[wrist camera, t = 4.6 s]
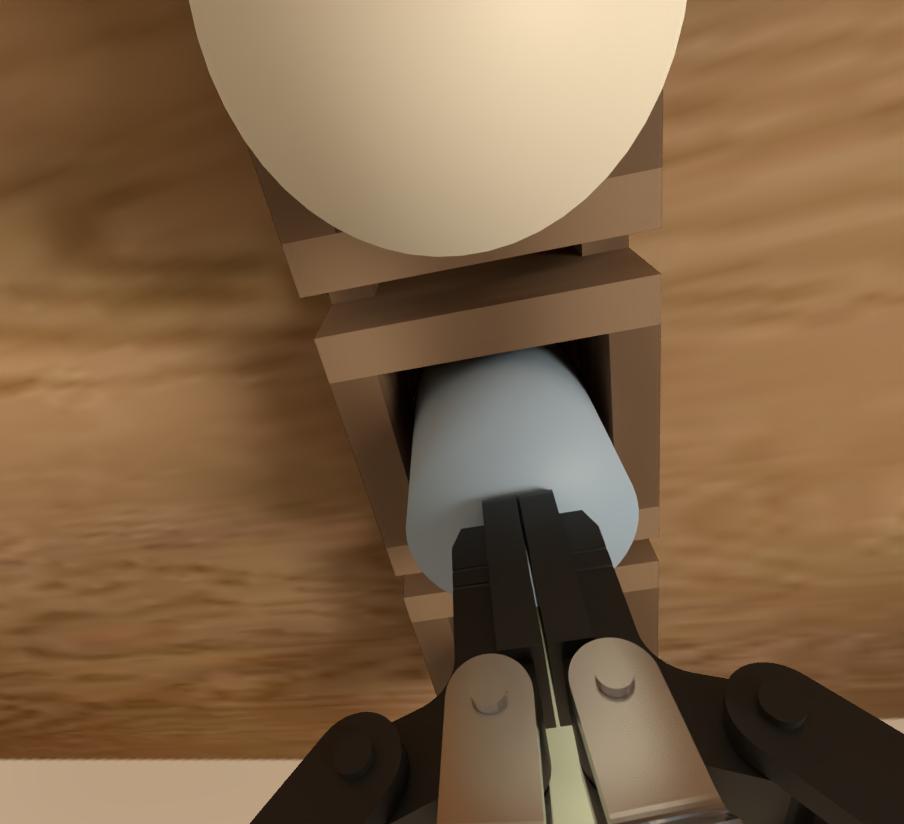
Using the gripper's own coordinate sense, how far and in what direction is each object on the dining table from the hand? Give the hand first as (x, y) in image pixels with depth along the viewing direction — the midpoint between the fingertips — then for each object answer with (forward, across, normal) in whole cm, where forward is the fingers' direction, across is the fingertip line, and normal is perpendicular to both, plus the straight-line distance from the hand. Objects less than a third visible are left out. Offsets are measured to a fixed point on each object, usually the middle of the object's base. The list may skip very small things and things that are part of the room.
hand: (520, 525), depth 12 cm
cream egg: (+4, 0, -9) cm, 10 cm away
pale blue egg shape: (+6, 0, 0) cm, 6 cm away
